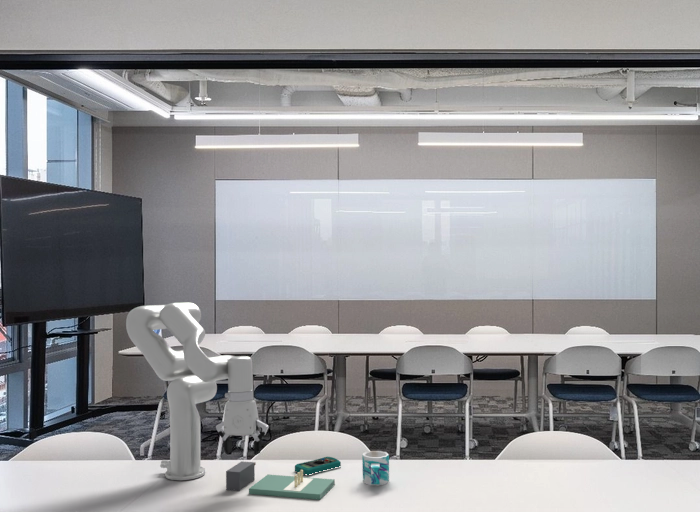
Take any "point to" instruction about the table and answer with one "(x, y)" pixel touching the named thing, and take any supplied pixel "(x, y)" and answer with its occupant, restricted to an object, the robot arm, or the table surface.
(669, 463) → the table surface
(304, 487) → the header board
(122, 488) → the table surface
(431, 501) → the table surface
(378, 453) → the mug
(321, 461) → the digital multimeter
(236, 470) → the block
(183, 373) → the robot arm
